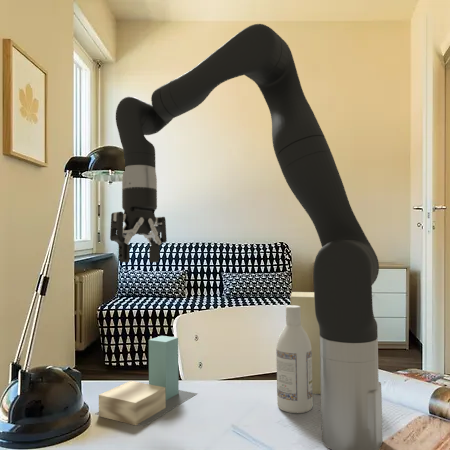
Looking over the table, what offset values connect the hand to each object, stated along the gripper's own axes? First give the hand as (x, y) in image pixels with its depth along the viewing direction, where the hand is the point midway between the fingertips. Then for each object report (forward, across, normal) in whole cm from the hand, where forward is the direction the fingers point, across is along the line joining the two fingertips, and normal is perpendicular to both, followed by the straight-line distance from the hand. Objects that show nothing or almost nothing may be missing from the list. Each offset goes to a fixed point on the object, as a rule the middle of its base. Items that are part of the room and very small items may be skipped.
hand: (140, 262), depth 92 cm
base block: (+29, -6, -4) cm, 30 cm away
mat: (+29, -1, -3) cm, 29 cm away
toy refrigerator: (+29, +26, -26) cm, 47 cm away
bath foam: (+30, +15, -28) cm, 44 cm away
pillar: (+29, +4, -3) cm, 29 cm away
